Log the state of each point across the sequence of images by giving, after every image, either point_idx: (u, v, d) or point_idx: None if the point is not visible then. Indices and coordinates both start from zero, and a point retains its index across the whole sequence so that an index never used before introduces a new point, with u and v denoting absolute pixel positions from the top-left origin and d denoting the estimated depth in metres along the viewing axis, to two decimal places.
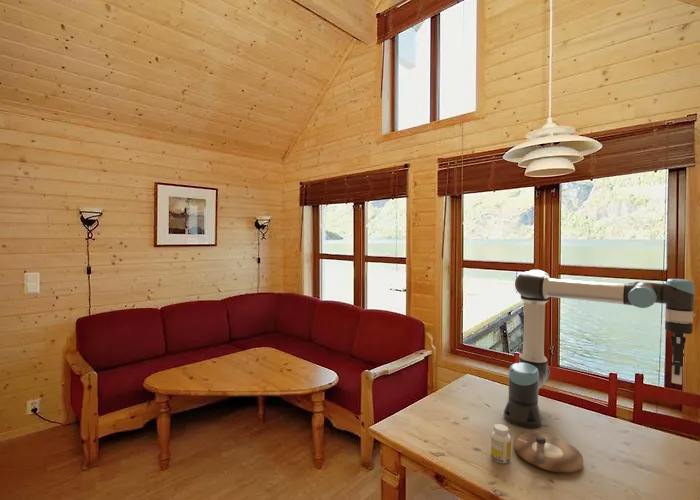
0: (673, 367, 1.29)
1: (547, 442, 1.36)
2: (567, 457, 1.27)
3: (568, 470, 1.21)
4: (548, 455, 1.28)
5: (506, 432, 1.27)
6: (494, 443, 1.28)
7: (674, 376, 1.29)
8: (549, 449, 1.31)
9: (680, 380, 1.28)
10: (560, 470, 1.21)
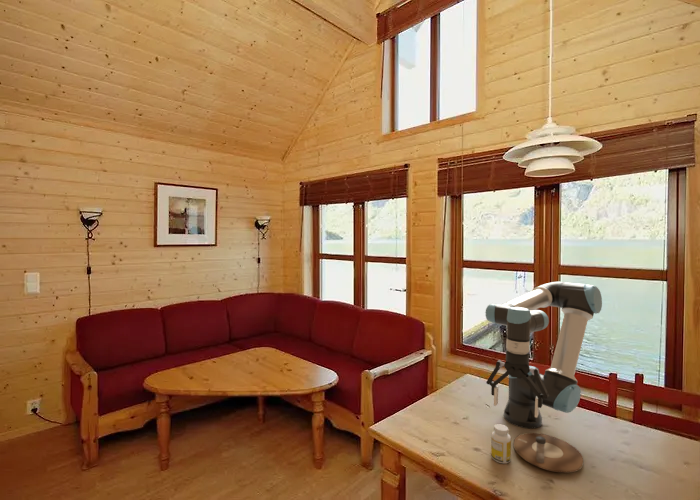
0: None
1: (547, 442, 1.36)
2: (567, 457, 1.27)
3: (568, 470, 1.21)
4: (548, 455, 1.28)
5: (506, 432, 1.27)
6: (494, 443, 1.28)
7: None
8: (549, 449, 1.31)
9: None
10: (560, 470, 1.21)
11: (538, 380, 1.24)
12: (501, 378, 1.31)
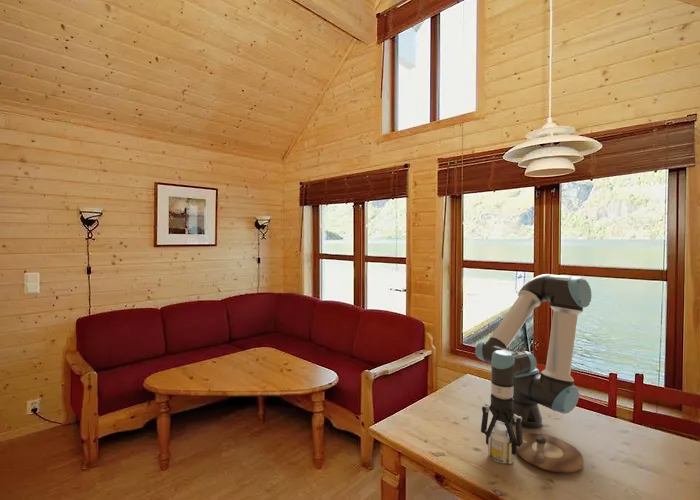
0: None
1: (547, 442, 1.36)
2: (567, 457, 1.27)
3: (568, 470, 1.21)
4: (548, 455, 1.28)
5: (506, 432, 1.27)
6: (494, 443, 1.28)
7: None
8: (549, 449, 1.31)
9: None
10: (560, 470, 1.21)
11: (517, 428, 1.25)
12: (491, 425, 1.31)
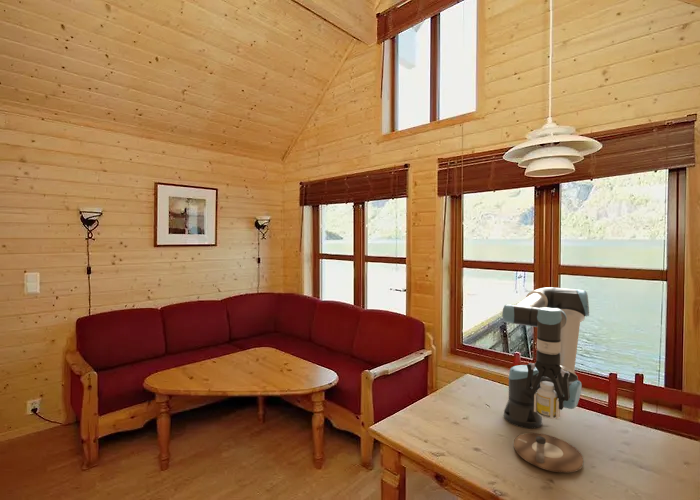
0: None
1: (547, 442, 1.36)
2: (567, 457, 1.27)
3: (568, 470, 1.21)
4: (548, 455, 1.28)
5: (553, 387, 1.28)
6: (541, 398, 1.29)
7: None
8: (549, 449, 1.31)
9: None
10: (560, 470, 1.21)
11: (565, 383, 1.25)
12: (537, 381, 1.32)
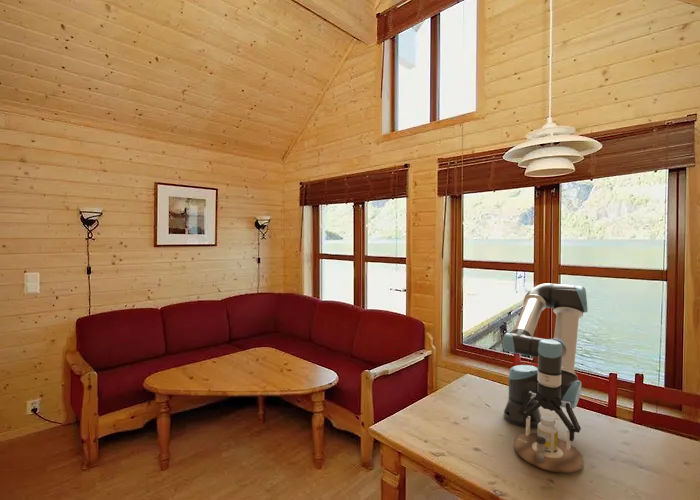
0: None
1: None
2: (567, 457, 1.27)
3: (568, 470, 1.21)
4: (548, 455, 1.28)
5: (553, 423, 1.29)
6: (541, 433, 1.30)
7: None
8: None
9: None
10: (560, 470, 1.21)
11: (570, 414, 1.25)
12: (533, 409, 1.33)
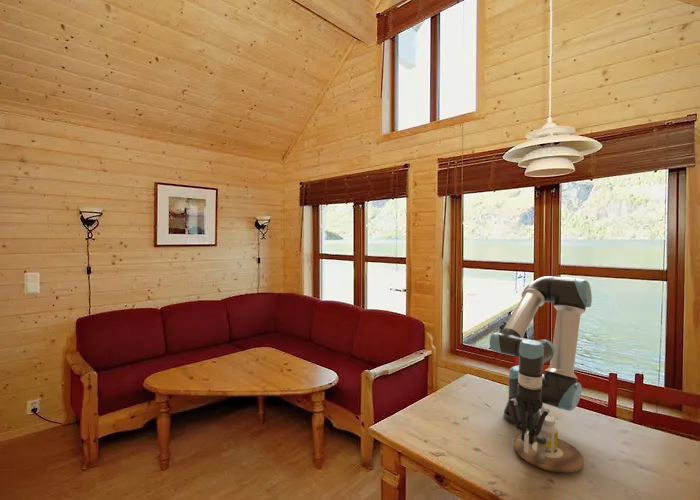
0: None
1: None
2: (567, 456, 1.27)
3: (569, 470, 1.21)
4: (549, 455, 1.28)
5: (553, 423, 1.29)
6: (541, 433, 1.30)
7: None
8: None
9: None
10: (561, 470, 1.21)
11: (541, 420, 1.23)
12: (523, 418, 1.27)
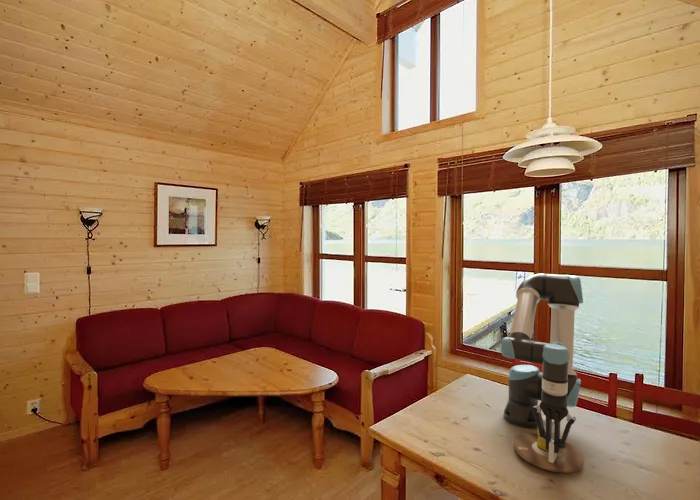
0: None
1: None
2: (565, 450, 1.31)
3: (582, 464, 1.24)
4: (556, 456, 1.28)
5: None
6: None
7: None
8: None
9: None
10: (578, 467, 1.22)
11: (567, 428, 1.17)
12: (548, 426, 1.21)
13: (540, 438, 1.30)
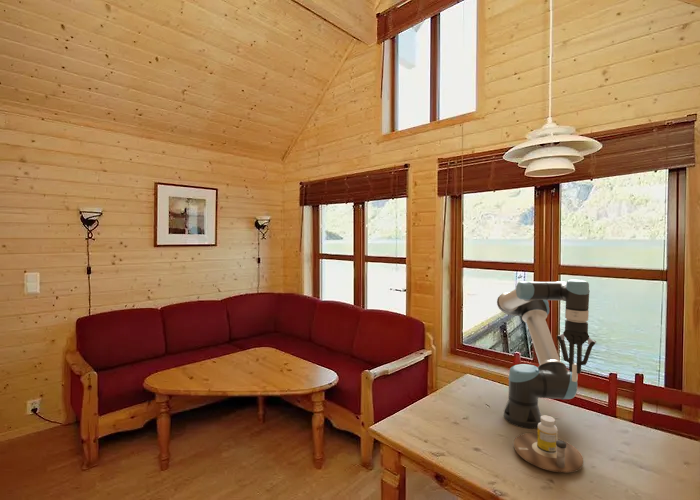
0: None
1: None
2: (565, 450, 1.31)
3: (582, 464, 1.24)
4: (556, 455, 1.28)
5: None
6: (548, 436, 1.28)
7: None
8: None
9: (572, 377, 1.40)
10: (579, 467, 1.22)
11: (589, 350, 1.35)
12: (571, 351, 1.39)
13: (540, 438, 1.30)
